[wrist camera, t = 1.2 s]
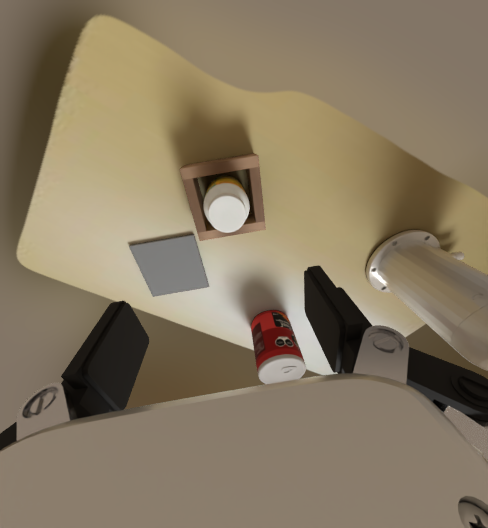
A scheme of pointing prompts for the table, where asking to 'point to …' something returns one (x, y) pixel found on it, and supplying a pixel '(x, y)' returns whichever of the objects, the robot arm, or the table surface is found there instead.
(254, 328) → the canned food
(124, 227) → the table surface
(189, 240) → the rubber mat
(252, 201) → the sleeve holder
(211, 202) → the supplement bottle
